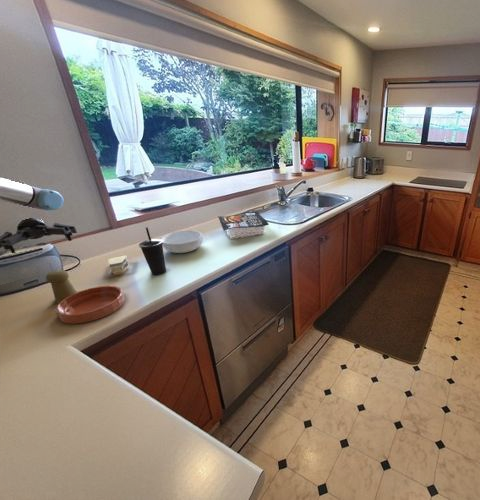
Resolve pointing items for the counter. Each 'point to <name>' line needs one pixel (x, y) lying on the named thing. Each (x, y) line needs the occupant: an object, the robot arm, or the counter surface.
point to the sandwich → (118, 264)
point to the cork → (60, 285)
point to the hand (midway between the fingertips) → (42, 242)
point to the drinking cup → (154, 254)
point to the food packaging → (243, 224)
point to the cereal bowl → (182, 241)
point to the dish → (90, 304)
